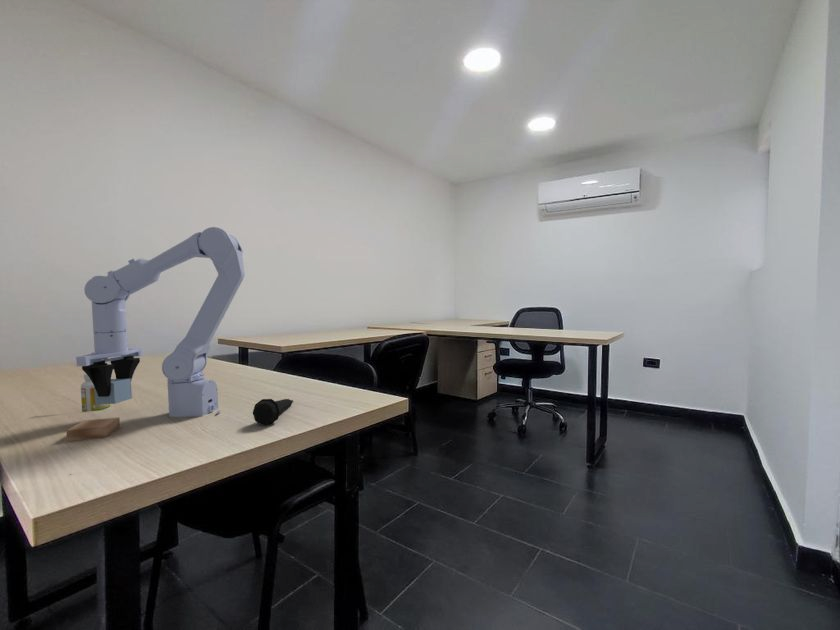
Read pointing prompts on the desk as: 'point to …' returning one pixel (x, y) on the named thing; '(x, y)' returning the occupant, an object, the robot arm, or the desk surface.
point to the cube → (116, 392)
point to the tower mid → (93, 429)
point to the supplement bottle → (90, 397)
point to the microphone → (269, 410)
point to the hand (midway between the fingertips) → (114, 393)
